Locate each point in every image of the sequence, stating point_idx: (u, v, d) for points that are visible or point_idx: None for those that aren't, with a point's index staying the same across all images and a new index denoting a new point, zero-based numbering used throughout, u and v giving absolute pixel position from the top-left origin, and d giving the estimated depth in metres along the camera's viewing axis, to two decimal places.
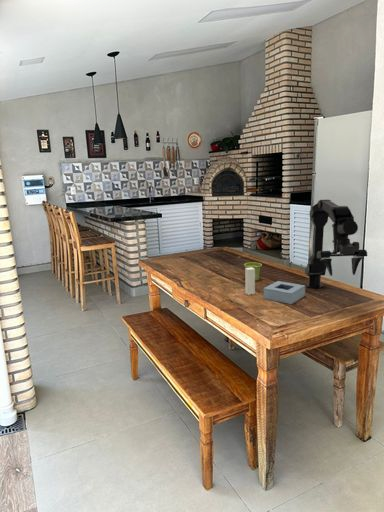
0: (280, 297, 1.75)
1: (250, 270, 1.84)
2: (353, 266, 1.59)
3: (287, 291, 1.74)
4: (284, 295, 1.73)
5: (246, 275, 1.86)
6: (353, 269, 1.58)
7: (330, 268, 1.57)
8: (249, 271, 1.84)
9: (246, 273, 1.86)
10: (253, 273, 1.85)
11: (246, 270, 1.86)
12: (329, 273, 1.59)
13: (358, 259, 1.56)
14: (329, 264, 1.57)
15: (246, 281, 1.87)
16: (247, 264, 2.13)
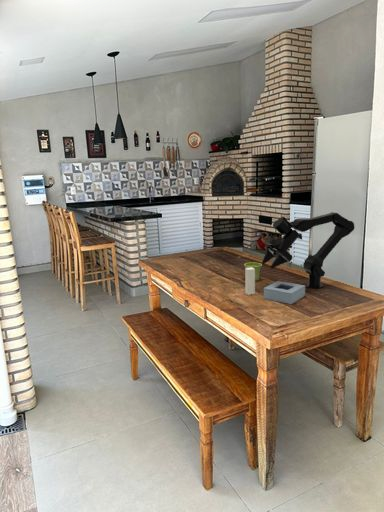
0: (280, 297, 1.75)
1: (250, 270, 1.84)
2: None
3: (287, 291, 1.74)
4: (284, 295, 1.73)
5: (246, 275, 1.86)
6: None
7: (264, 257, 1.91)
8: (249, 271, 1.84)
9: (246, 273, 1.86)
10: (253, 273, 1.85)
11: (246, 270, 1.86)
12: None
13: (277, 255, 1.80)
14: (265, 254, 1.91)
15: (246, 281, 1.87)
16: (247, 264, 2.13)
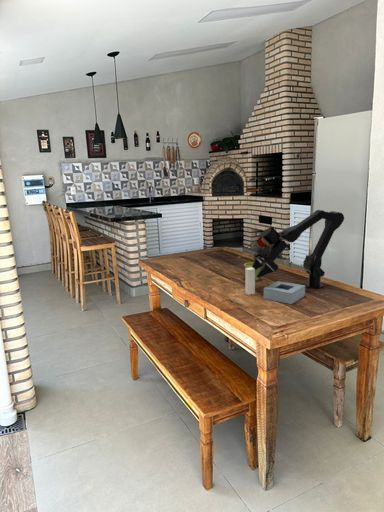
0: (280, 297, 1.75)
1: (250, 270, 1.84)
2: None
3: (287, 291, 1.74)
4: (284, 295, 1.73)
5: (246, 275, 1.86)
6: None
7: (252, 266, 1.92)
8: (249, 271, 1.84)
9: (246, 273, 1.86)
10: (253, 273, 1.85)
11: (246, 270, 1.86)
12: None
13: (263, 264, 1.81)
14: (253, 263, 1.92)
15: (246, 281, 1.87)
16: (247, 264, 2.13)
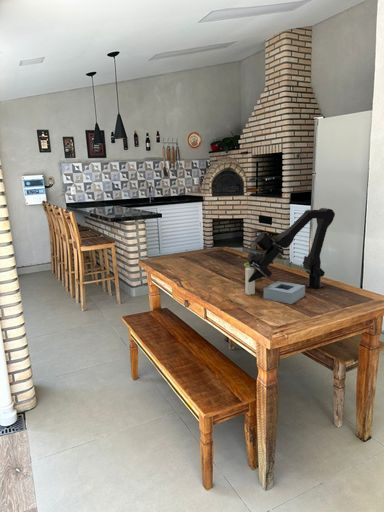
0: (280, 297, 1.75)
1: (250, 270, 1.84)
2: None
3: (287, 291, 1.74)
4: (284, 295, 1.73)
5: (246, 275, 1.86)
6: None
7: None
8: (249, 271, 1.84)
9: (246, 273, 1.86)
10: None
11: (246, 270, 1.86)
12: None
13: (255, 269, 1.83)
14: None
15: (246, 281, 1.87)
16: (247, 264, 2.13)
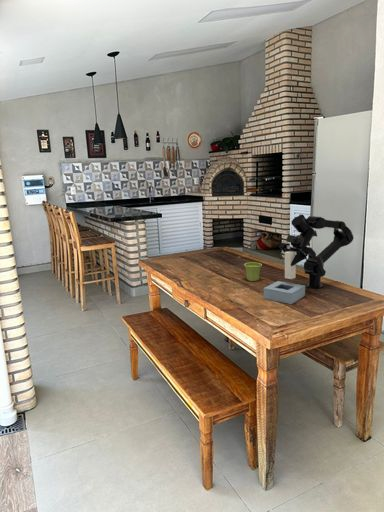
0: (280, 297, 1.75)
1: (292, 253, 1.80)
2: None
3: (287, 291, 1.74)
4: (284, 295, 1.73)
5: (288, 260, 1.81)
6: None
7: None
8: (291, 255, 1.80)
9: (287, 257, 1.82)
10: (294, 256, 1.81)
11: (287, 254, 1.81)
12: None
13: (297, 252, 1.80)
14: None
15: (287, 265, 1.83)
16: (247, 264, 2.13)
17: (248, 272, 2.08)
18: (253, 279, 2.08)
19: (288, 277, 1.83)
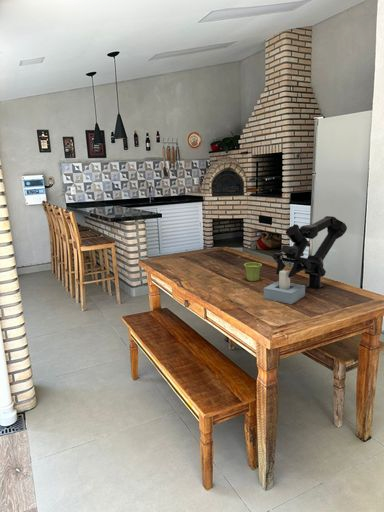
0: (280, 297, 1.75)
1: (287, 273, 1.77)
2: None
3: (287, 291, 1.74)
4: (284, 295, 1.73)
5: (283, 279, 1.78)
6: None
7: (278, 267, 1.82)
8: (286, 274, 1.77)
9: (282, 276, 1.78)
10: None
11: (282, 273, 1.78)
12: (277, 273, 1.82)
13: (294, 263, 1.75)
14: (278, 264, 1.82)
15: (281, 285, 1.79)
16: (247, 264, 2.13)
17: (248, 272, 2.08)
18: (253, 279, 2.08)
19: None
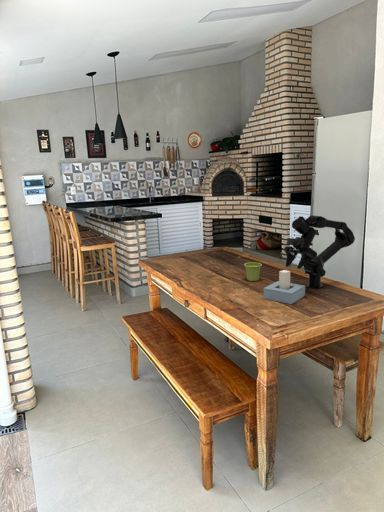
0: (280, 297, 1.75)
1: (287, 273, 1.77)
2: None
3: (287, 291, 1.74)
4: (284, 295, 1.73)
5: (283, 279, 1.78)
6: None
7: (286, 260, 1.90)
8: (286, 274, 1.77)
9: (282, 276, 1.78)
10: (289, 276, 1.78)
11: (282, 273, 1.78)
12: (287, 265, 1.90)
13: (302, 254, 1.79)
14: (287, 256, 1.90)
15: (281, 285, 1.79)
16: (247, 264, 2.13)
17: (248, 272, 2.08)
18: (253, 279, 2.08)
19: None
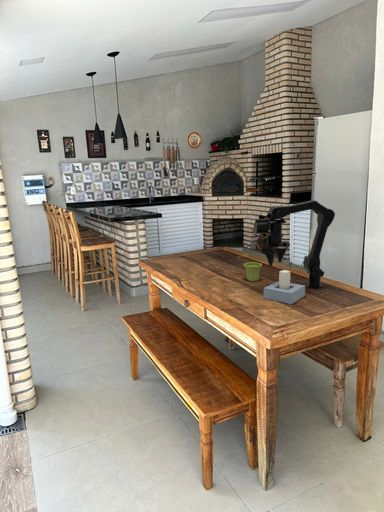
0: (280, 297, 1.75)
1: (287, 273, 1.77)
2: None
3: (287, 291, 1.74)
4: (284, 295, 1.73)
5: (283, 279, 1.78)
6: None
7: None
8: (286, 274, 1.77)
9: (282, 276, 1.78)
10: (289, 276, 1.78)
11: (282, 273, 1.78)
12: None
13: None
14: None
15: (281, 285, 1.79)
16: (247, 264, 2.13)
17: (248, 272, 2.08)
18: (253, 279, 2.08)
19: None
